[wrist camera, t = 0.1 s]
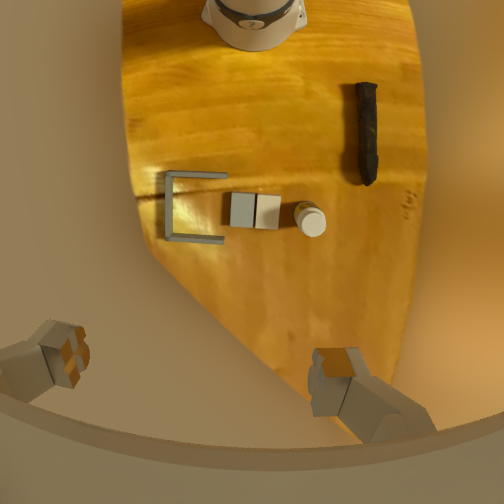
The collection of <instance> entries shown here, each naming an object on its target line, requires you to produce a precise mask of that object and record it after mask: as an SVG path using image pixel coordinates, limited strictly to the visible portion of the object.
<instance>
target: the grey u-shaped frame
mask: <svg viewBox="0 0 504 504" xmlns="http://www.w3.org/2000/svg"><path fill="white" fill-rule="evenodd" d="M173 176H176V177H202V178H223V179H227V177H228V173H225V172H205V171H177V170H169V171H166V174H165V241H175V242H190V243H205V244H220V245H223V244H224V239H225V236H212V235H196V234H180V233H173Z"/></svg>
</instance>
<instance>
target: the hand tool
mask: <svg viewBox="0 0 504 504" xmlns="http://www.w3.org/2000/svg"><path fill="white" fill-rule="evenodd" d="M377 86H378V85H377V84H374V83H369V82H361V83H356V85H355V87H356V88H357V93H356V95H357V96H358V112H359V120H358V122H359V155H358V158H359V167H360V172H361V177H362V180H363V184H364V185H365V186H369V185H371V184H372V183H373V182H374V181H375V180H376V178H377V168H378V160H379V159H378V155H377V106H376V88H377Z"/></svg>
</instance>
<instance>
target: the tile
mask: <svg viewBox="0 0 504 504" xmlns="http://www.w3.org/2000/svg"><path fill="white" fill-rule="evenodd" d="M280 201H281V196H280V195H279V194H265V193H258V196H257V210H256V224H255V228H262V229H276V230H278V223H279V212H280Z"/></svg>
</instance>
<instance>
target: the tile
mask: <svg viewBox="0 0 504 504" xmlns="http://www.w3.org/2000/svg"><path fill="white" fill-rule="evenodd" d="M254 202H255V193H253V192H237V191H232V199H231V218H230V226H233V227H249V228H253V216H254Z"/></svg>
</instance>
